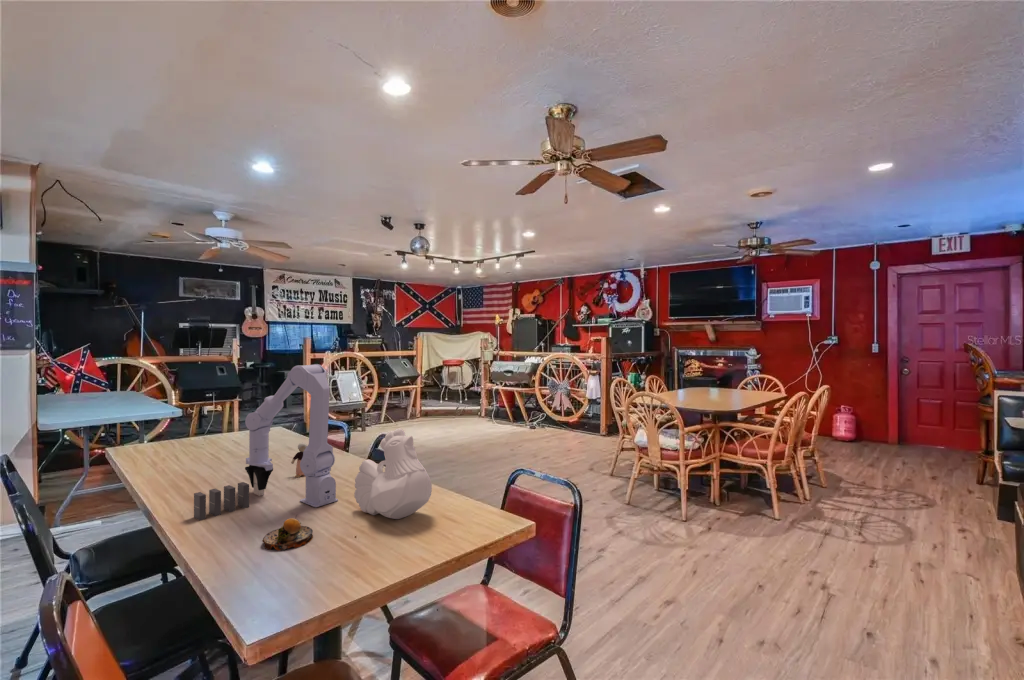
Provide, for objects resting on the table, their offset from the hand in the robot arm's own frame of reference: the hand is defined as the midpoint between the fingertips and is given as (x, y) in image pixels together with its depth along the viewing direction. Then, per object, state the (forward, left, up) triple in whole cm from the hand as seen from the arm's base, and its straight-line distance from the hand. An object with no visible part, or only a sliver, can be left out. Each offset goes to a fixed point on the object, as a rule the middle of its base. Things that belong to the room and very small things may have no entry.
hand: (258, 488), depth 157 cm
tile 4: (-8, +21, -2) cm, 22 cm away
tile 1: (-8, +9, -2) cm, 12 cm away
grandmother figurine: (+8, -20, -2) cm, 22 cm away
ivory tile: (0, 0, -2) cm, 2 cm away
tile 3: (-8, +17, -2) cm, 18 cm away
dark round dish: (-43, +13, -2) cm, 45 cm away
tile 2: (-8, +13, -2) cm, 15 cm away
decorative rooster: (-50, -15, -2) cm, 52 cm away
